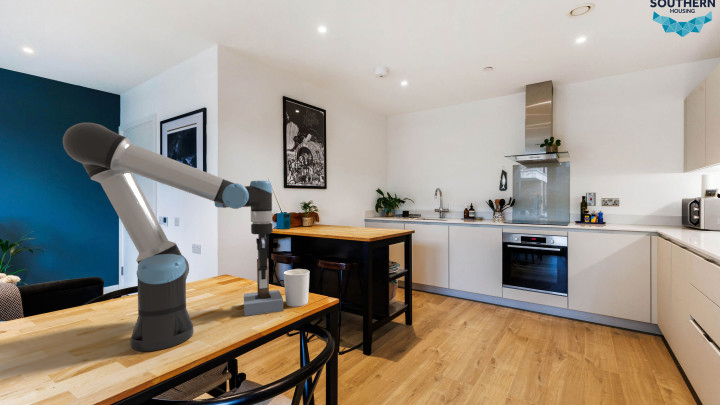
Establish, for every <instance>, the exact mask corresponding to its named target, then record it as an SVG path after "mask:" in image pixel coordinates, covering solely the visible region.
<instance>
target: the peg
mask: <svg viewBox="0 0 720 405" xmlns="http://www.w3.org/2000/svg"><path fill="white" fill-rule="evenodd" d="M267 267H268V269H267V288H259V271H258V269H259V268H260V263H259V258H258V257H257V259H256V272H257V273H256V275H257V277H256V278H257V280H256V281H257V282H256V283H257V284H256V285H257V286H256V288H257V292H258V298H267V297H269V291H270V286H269V284H270V282H269V280H270V276H269V274H270V273H269V271H270V270H269V257H267Z"/></svg>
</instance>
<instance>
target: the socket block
mask: <svg viewBox="0 0 720 405" xmlns="http://www.w3.org/2000/svg"><path fill="white" fill-rule="evenodd" d="M277 312H284V299H283V297H282V294H281V291H280V289H275V290H269V297H267V298H258V291H257V292H249V293H244V294H243V313H244V317H248V316H249V317H250V316H255V315H257V316H258V315H263V314H269V313H270V314H271V313H277Z"/></svg>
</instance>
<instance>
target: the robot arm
mask: <svg viewBox="0 0 720 405" xmlns="http://www.w3.org/2000/svg"><path fill="white" fill-rule="evenodd" d="M62 145H63V148H64V150H65V152H66V154H67V155H68V156H69V157H70V158H71V159H73V160H75V161H76V162H78V163H80V164H82V166H83V168H84V170H85V171H86V173H87V174H88V176H89V179H90V180H92V181H95V182H97V183H99V184H100V185H101V187H102V190H103V191H104V192H105V194H106V196H107V198H108V200H109V201H110V204H111V205H112V207H113V209H114V210H115V212H116V214H117V216H118V217H119V219H120V221H121V223H122V225H123V227H124V229H125V230H126V232H127V234H128V236H129V238H130V239H131V241H132V244H134V247H135V249H136V250H137V252H138V255H137V258H136V262H137V270H136V277H137V314H138V316H137V319H136V322H135V325H134V327H133V331H132V334H131V337H130V348H131V349H133V350H135V351H138V352H152V351H158V350H159V351H160V350H164V349H168V348H169V349H170V348H171V347H174V346H177V345H180V344H182V343H185V342H186V341H188V340H189V339H190V338H191V337H193V335H194V325H193V322H192V319H191V317H190V314H189V312H188V310H187V287H186V286H187V279H188V276H189V273H190V272H189V271H190V264H189V261H188V259H187V258H186V257H185V256H184V255H183V254H182V252H181V250H180V248H179V246H178V245H177V243H176V242H173V241H170V240H169V239H168V238H167V235H166V233H165V232H164V230H163V228H162V226H161V224H160V222H159V220H158V218H157V217H156V214H155V212H154V211H153V209H152V207H151V205H150V203H149V201H148V200H147V197H146V195H145V194H144V192H143V190H142V188H141V186H140V184H139V182H138V180H137V179H136V177H135V175H137V176H140V177H144V178H146V179H148V180H151V181H154V182H157V183H160V184H163V185H167V187H171V188H175V189H178V190H180V191H184V192H187V193H189V194H192V195H195V196H197V197H200V198H203V199H207V200H209V201H212V202H214V206H215V208H221V209H222V208H223V209H226V208H231V209H235V210H238V209H241V208H248V207H249V208H250V222H251V225H250V233H251V234H252V235H258V237H257V238H256V239H255V241H256V249H257V259H258V258H259V263H260V268H259V269H258V271H259V288H267V269H269V266H268V267H267V258H268V244H269V238H268V237H267V234H272V233H274V232H273V223H272V222H273V217H274V215H275V214H274V213H273V190H272V189H273V188H272V182H271V181H269V180H252V181H250V184H249V185H245V186H244V185H242V184H239V183H235V182H232V181H229V180H227V179H225V178H221V177H219V176H217V175H215V174H211V173H210V172H206V171H204V170H202V169H199V168H196V167H194V166H191V165H189V164H186V163H183V162H180V161H178V160H175V159H172V158H171V157H167V156H165V155H162V154H161V153H157V152H156V151H152V150H149V149H146V148H144V147H141V146H139V145H138V144H137V145H136V144H134V143H132V141H131V140H130V138H128V137H126V136H124V135H121V134H119V133H117V132H116V131H115V132H114V131H112V130H110V129H108V128H107V127H105V126H104V125H102V124H98V123H94V122H80V123H76V124H74V125H72V126H70V127H69V128H68V129H66V131H65V133H64V134H63V137H62Z"/></svg>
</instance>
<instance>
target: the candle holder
mask: <svg viewBox="0 0 720 405" xmlns="http://www.w3.org/2000/svg"><path fill="white" fill-rule="evenodd" d="M283 282H284V294H285V295H284V296H285V297H284V298H285V304H286V306H288V307H291V306H292V307H293V308H294V307H295V308H296V307H302V306H305V305H307V304H308V302H309V295H310V294H309V289H310V270H308V269H305V268H304V269H303V268H295V269H289V270H284V272H283Z"/></svg>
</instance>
